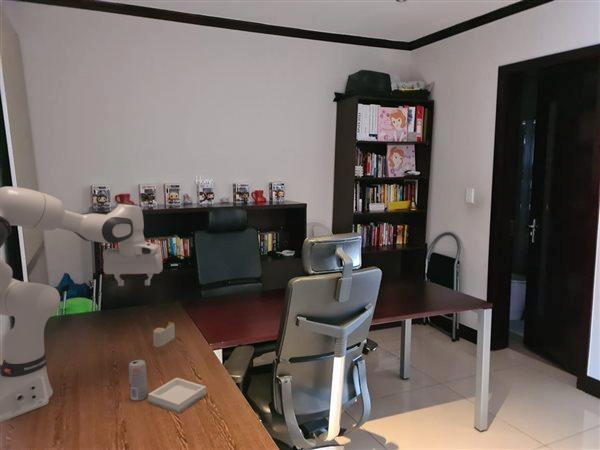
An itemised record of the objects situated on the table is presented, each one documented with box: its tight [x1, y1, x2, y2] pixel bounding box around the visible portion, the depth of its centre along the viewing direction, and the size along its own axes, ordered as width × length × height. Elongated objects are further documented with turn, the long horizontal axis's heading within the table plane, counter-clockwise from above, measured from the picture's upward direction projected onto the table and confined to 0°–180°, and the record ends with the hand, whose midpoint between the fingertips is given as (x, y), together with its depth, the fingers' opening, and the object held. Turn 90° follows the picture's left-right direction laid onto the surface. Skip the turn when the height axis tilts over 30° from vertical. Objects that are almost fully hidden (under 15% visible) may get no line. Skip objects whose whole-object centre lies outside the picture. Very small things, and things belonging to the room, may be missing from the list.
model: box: [152, 321, 176, 348], centre depth 197 cm, size 3×11×8 cm, turn 161°
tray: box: [147, 377, 207, 414], centre depth 151 cm, size 13×13×3 cm
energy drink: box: [128, 359, 148, 402], centre depth 151 cm, size 5×5×12 cm
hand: (134, 285), depth 166 cm, fingers open, 8 cm apart
